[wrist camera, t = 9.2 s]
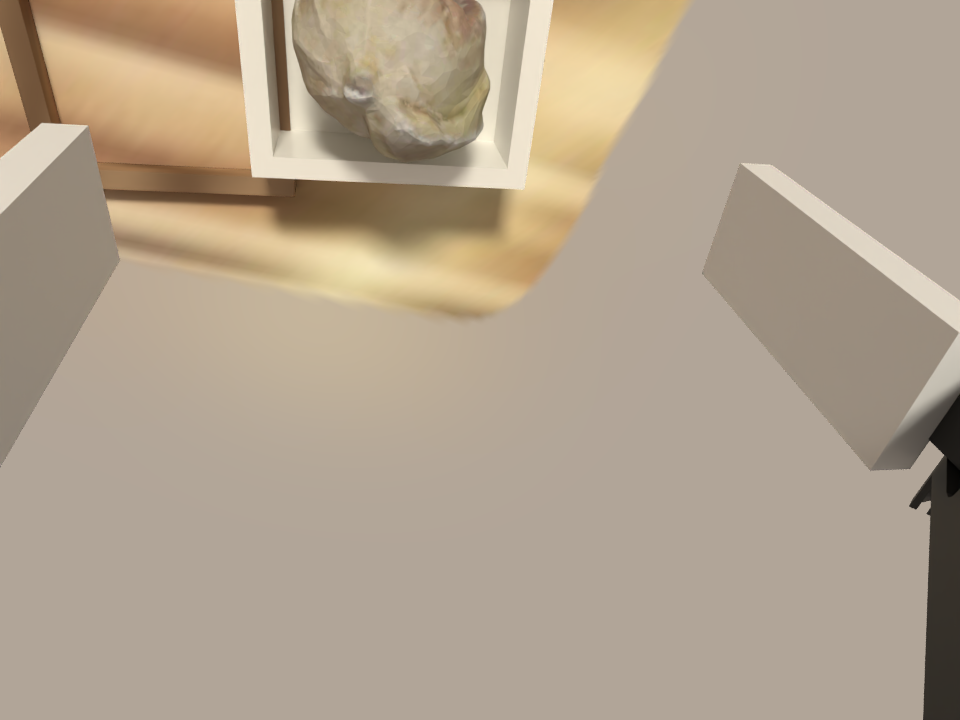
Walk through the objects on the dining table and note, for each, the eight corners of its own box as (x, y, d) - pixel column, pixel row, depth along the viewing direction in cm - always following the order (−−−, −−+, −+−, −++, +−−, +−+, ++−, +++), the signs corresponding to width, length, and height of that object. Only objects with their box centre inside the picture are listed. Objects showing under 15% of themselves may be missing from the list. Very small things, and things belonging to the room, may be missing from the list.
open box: (263, 142, 34) (252, 177, 31) (236, -178, 27) (216, -184, 23) (506, 155, 37) (524, 189, 33) (545, -134, 29) (574, -134, 25)
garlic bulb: (453, 81, 36) (515, 203, 30) (293, 97, 33) (329, 232, 28) (466, -125, 28) (551, -9, 23) (259, -120, 26) (299, 8, 20)
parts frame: (53, 179, 34) (46, 186, 33) (-35, -137, 26) (-47, -136, 25) (295, 189, 36) (294, 196, 35) (278, -98, 28) (276, -97, 28)
